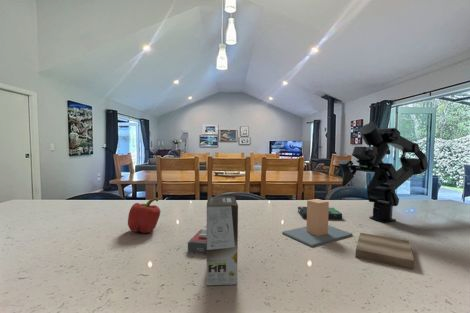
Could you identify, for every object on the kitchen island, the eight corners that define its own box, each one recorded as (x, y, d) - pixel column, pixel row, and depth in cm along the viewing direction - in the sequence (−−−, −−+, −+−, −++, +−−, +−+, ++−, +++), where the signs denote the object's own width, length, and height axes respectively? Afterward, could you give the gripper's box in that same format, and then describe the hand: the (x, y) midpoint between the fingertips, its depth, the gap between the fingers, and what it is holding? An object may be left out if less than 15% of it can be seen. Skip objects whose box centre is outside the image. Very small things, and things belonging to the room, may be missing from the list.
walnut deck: (359, 239, 76) (360, 232, 76) (408, 247, 70) (408, 240, 70) (355, 257, 64) (355, 249, 64) (413, 269, 58) (414, 260, 58)
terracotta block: (316, 229, 83) (317, 198, 82) (327, 233, 79) (328, 201, 78) (306, 231, 80) (307, 200, 80) (317, 236, 76) (318, 203, 76)
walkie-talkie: (217, 258, 63) (233, 231, 83) (217, 241, 63) (233, 218, 83) (184, 255, 65) (207, 229, 84) (184, 238, 65) (207, 216, 84)
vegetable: (149, 223, 89) (149, 195, 89) (169, 229, 83) (169, 199, 83) (120, 232, 80) (119, 200, 80) (139, 239, 74) (139, 205, 74)
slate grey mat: (321, 224, 89) (321, 223, 89) (352, 235, 79) (352, 233, 79) (282, 233, 80) (282, 231, 80) (311, 247, 70) (311, 244, 70)
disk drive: (302, 220, 96) (342, 220, 96) (302, 213, 96) (342, 213, 96) (297, 213, 107) (333, 213, 106) (297, 206, 106) (333, 206, 106)
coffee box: (238, 285, 51) (239, 205, 50) (206, 286, 50) (206, 205, 49) (234, 263, 60) (235, 195, 59) (207, 264, 59) (207, 196, 59)
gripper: (342, 138, 96) (321, 169, 91) (394, 138, 80) (372, 174, 75) (354, 159, 101) (335, 189, 96) (406, 162, 85) (386, 198, 80)
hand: (354, 187), depth 86 cm, fingers open, 9 cm apart
